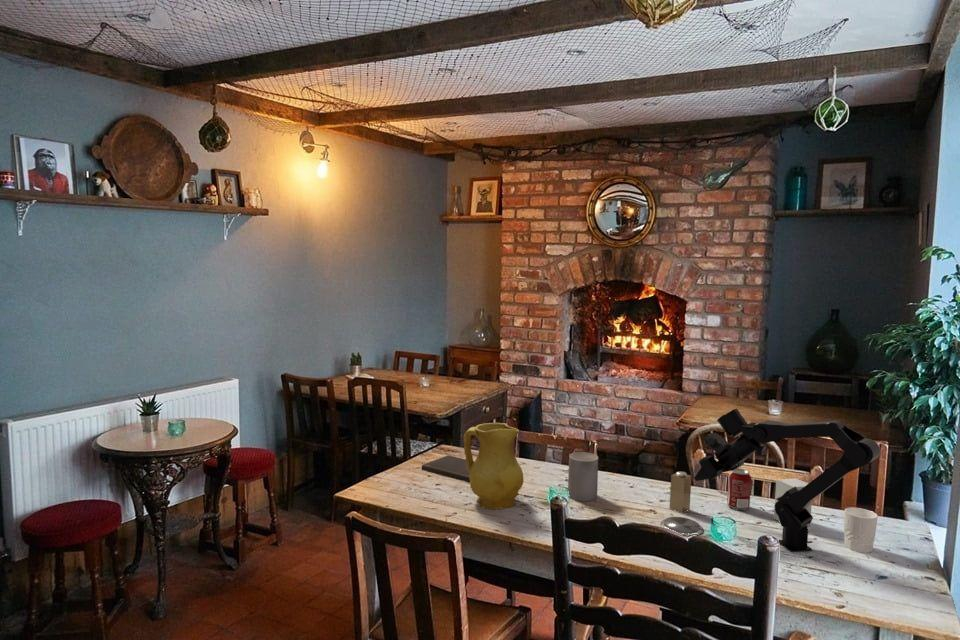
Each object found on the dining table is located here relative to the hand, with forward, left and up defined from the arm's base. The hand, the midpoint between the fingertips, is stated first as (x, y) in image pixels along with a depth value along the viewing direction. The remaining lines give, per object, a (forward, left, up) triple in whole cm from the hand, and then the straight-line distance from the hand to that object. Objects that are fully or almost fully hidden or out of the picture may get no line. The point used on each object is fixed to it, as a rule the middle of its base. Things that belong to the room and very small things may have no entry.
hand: (702, 476), depth 196 cm
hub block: (+6, +4, -13) cm, 14 cm away
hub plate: (-8, +10, -13) cm, 18 cm away
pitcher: (+17, +62, -13) cm, 66 cm away
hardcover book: (+48, +70, -13) cm, 86 cm away
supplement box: (-7, -26, -13) cm, 30 cm away
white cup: (-25, -34, -13) cm, 44 cm away
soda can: (+6, -16, -13) cm, 21 cm away
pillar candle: (+19, +32, -13) cm, 39 cm away
